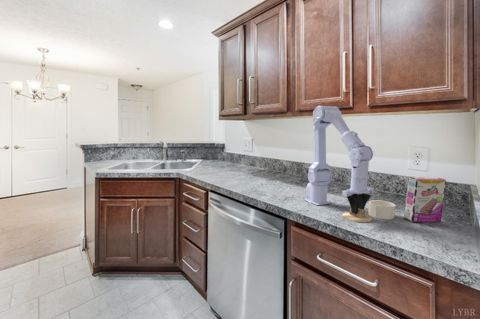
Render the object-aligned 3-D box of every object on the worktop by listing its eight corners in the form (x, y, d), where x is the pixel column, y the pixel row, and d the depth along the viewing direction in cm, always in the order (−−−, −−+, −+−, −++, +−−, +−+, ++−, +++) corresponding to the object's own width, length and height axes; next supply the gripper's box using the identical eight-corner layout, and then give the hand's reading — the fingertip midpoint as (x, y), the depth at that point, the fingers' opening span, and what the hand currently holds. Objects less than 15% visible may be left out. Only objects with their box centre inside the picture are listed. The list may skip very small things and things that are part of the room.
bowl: (363, 213, 103) (364, 201, 102) (378, 210, 106) (379, 199, 106) (383, 220, 94) (384, 207, 94) (399, 217, 98) (400, 205, 98)
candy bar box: (412, 223, 92) (416, 179, 91) (403, 218, 97) (407, 176, 96) (442, 222, 93) (446, 179, 91) (431, 218, 98) (435, 176, 96)
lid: (336, 215, 100) (336, 206, 100) (354, 212, 105) (355, 203, 104) (359, 224, 91) (359, 214, 90) (378, 220, 95) (378, 210, 95)
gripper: (354, 181, 89) (351, 218, 91) (382, 178, 95) (379, 213, 97) (338, 178, 96) (336, 212, 97) (365, 175, 102) (363, 208, 103)
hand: (357, 212), depth 97 cm, fingers closed on lid, 2 cm apart
